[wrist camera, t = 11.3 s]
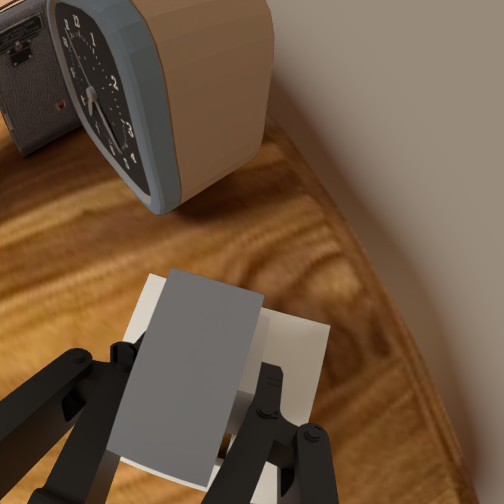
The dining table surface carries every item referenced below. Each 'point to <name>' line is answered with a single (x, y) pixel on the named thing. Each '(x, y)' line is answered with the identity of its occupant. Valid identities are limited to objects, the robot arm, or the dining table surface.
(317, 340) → the white flat frame block
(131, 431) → the grey rectangular peg
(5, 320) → the dining table surface
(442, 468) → the dining table surface
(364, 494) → the dining table surface
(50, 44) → the camera
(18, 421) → the robot arm
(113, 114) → the alarm clock
